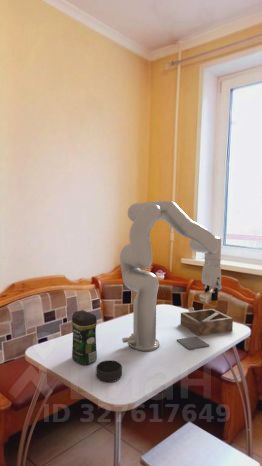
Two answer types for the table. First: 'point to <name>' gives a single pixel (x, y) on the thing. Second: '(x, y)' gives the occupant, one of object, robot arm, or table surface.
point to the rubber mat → (192, 342)
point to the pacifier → (191, 309)
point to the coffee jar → (84, 337)
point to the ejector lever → (210, 317)
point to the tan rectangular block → (207, 296)
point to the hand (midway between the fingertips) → (210, 298)
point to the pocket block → (206, 322)
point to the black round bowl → (109, 371)
